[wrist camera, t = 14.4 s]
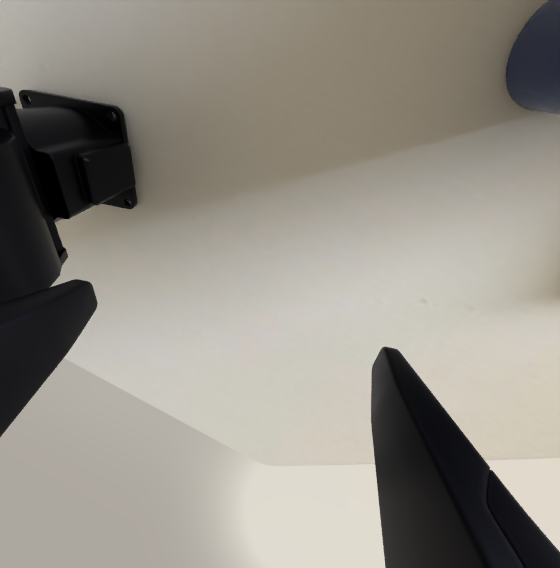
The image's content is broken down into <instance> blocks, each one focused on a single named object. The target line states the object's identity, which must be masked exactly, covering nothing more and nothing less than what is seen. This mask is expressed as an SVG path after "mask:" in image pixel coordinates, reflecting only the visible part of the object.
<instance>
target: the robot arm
mask: <svg viewBox="0 0 560 568" xmlns="http://www.w3.org/2000/svg"><path fill="white" fill-rule="evenodd" d="M29 97H30V99H31V102H30V100H29ZM19 98H20V101H21V104H22V107H23V109H15V106H14V104H16V100H15V97H14V94H13V91H12V89H9V88H3V87H0V437H1V436H2V434H3V433H4V432H5V431H6V429H7V428H8V427H9V426H10V424H11V423H12V422H13V421H14V419H15V418H16V416H18V414H19V413H20V412H21V411H22V409H23V408H24V407H25V406H26V404H27V403H28V402H29V400H30V399H31V398H32V397H33V396H34V394H35V393H36V392H37V391H38V389H39V388H40V387H41V385H42V384H43V383H44V382H45V380H46V379H47V378H48V377H49V376H50V374H51V373H52V372H53V371H54V369H55V368H56V367H57V366H58V364H59V363H60V362H61V361H62V359H63V358H64V357H65V355H66V354H67V353H68V351H69V350H70V349H71V347H72V346H73V344H74V343H75V341H76V340H77V338H78V337H79V335H80V333H81V332H82V330H83V329H84V327H85V326H86V324H87V323H88V321H89V319H90V318H91V316H92V315H93V313H94V312H95V310H96V308H97V299H96V296H95V293H94V289H93V286H92V284H91V283H90V282H88V281H83V280H78V279H75V280H71V281H68V282H65V283H62V284H59V285H56V286H53V287H50V286H51V285H52V284H53V283H54V282H55V280H56V279H57V278H58V277H59V276H60V272H61V266H62V265H63V263H64V262H65V261H66V259H67V258H68V254H67V251H66V248H64V247H63V246H62V243H61V240H60V237H59V234H58V231H57V228H56V225H55V222H57V221H59V220H61V219H69V218H71V217H73V216H75V215H77V214H79V213H81V212H83V211H85V210H87V209H88V208H90V207H92V206H94V205H95V206H97V205H99V204H106V205H111V206H116V207H121V208H126V209H132V208H134V207H135V206H136V205H137V198H136V192H135V178H134V171H133V164H132V158H131V151H130V147H129V145H128V139H127V133H126V126H125V120H124V115H123V112H122V111H121V109H119V108H118V107H116V106H113V105H107V104H102V103H97V102H91V101H86V100H81V99H75V98H70V97H65V96H59V95H54V94H49V93H43V92H38V91H33V90H21V91H20V92H19ZM112 112H114V113H115V114H116V119H115V118H114V117H113V115H112ZM127 199H128V200H129V201H130V202H131V204H130V203H129V202H128V201H127ZM49 287H50V288H49ZM371 424H372V435H373V446H374V456H375V465H376V476H377V485H378V496H379V506H380V516H381V526H382V536H383V546H384V556H385V566H386V568H560V552H559V551H558V549H557V548H556V547H555V546H554V545H553V544H552V543H551V541H550V540H549V539H548V538H547V537H546V535H545V534H544V533H543V532H542V531H541V530H540V529H539V527H538V526H537V525H536V524H535V523H534V521H533V520H532V519H531V518H530V517H529V516H528V515H527V513H526V512H525V511H524V510H523V508H522V507H521V506H520V505H519V503H518V502H517V501H516V500H515V499H514V497H513V496H512V495H511V494H510V492H509V491H508V490H507V488H506V487H505V486H504V485H503V483H502V482H501V481H500V479H499V478H498V477H497V476H496V474H495V473H494V472H493V471H492V470H490V467H489V466H488V464H487V463H486V462H485V460H484V459H483V458H482V457H481V455H480V454H479V453H478V451H477V450H476V449H475V448H474V446H473V445H472V444H471V443H470V441H469V440H468V439H467V437H466V436H465V435H464V434H463V432H462V431H461V430H460V428H459V427H458V426H457V425H456V423H455V422H454V421H453V419H452V418H451V417H450V416H449V414H448V413H447V412H446V410H445V409H444V408H443V407H442V405H441V404H440V403H439V402H438V400H437V399H436V398H435V396H434V395H433V394H432V393H431V391H430V390H429V389H428V387H427V386H426V385H425V384H424V382H423V381H422V380H421V378H420V377H419V376H418V375H417V373H416V372H415V371H414V370H413V368H412V367H411V366H410V364H409V363H408V362H407V361H406V359H405V358H404V357H403V355H402V354H401V353H400V352H399V351H398V350H397V349H394V348H389V347H383V348H382V349H381V350H380V352H379V354H378V356H377V358H376V360H375V362H374V364H373V367H372V391H371Z"/></svg>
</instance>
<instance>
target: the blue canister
mask: <svg viewBox="0 0 560 568" xmlns="http://www.w3.org/2000/svg"><path fill="white" fill-rule="evenodd" d="M506 82H507V87H508V90H509V93H510V95H511V97H512V98H513V100H514V101H515V102H516V103H517V104H519V105H520V106H521V107H523V108H526V109H529V110H532V111H539V112H546V113H553V114H560V0H549V1H548V2H546V3H545V4H544V5H543V6H542V7H541V8H540V9H539V10H538V11H537V12H536V13H535V14H534V15H533V16H532V17H531V19H530V20H529V21H528V22H527V24H526V25H525V26H524V28H523V29H522V31H521V32H520V34H519V36H518V38H517V39H516V41H515V43H514V45H513V48H512V50H511V53H510V56H509V59H508V64H507V70H506Z"/></svg>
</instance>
